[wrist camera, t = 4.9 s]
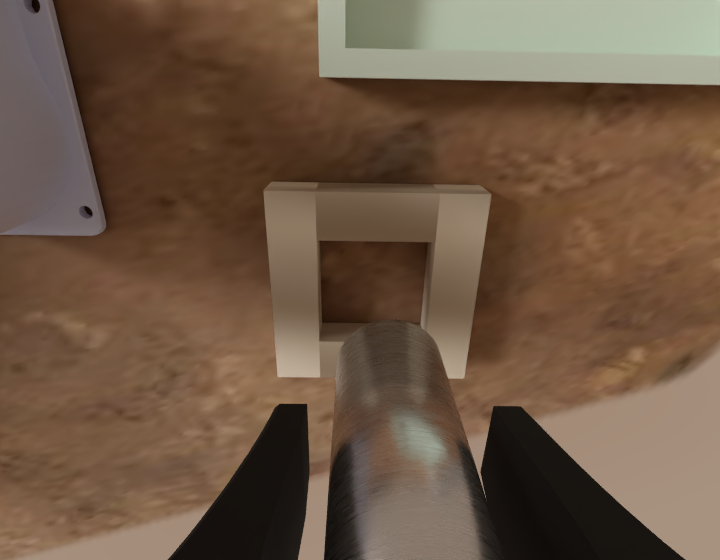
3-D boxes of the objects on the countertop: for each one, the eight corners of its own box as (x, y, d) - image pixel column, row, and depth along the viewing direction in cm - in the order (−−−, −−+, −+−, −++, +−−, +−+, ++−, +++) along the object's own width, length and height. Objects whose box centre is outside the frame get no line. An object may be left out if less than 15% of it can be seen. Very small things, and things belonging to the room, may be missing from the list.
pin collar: (271, 181, 17) (263, 190, 16) (479, 184, 17) (491, 194, 16) (283, 356, 21) (277, 376, 19) (456, 357, 21) (464, 378, 19)
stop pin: (310, 295, 11) (215, 750, 4) (475, 298, 11) (726, 749, 4) (313, 422, 13) (255, 904, 5) (455, 424, 13) (595, 900, 6)
